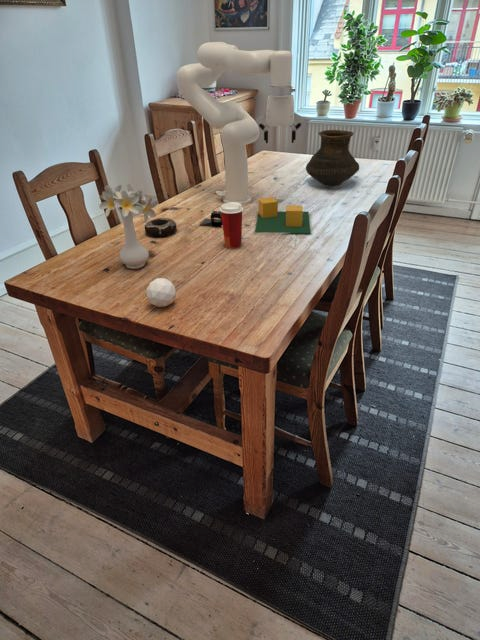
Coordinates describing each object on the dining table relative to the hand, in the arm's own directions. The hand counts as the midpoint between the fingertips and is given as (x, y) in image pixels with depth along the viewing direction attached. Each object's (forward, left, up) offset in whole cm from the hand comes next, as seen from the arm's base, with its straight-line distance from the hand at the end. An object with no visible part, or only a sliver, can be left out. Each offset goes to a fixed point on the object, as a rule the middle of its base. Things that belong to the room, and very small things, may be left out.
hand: (279, 142), depth 166 cm
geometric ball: (-30, -75, -26) cm, 85 cm away
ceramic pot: (+24, +37, -26) cm, 51 cm away
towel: (+2, -14, -26) cm, 30 cm away
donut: (-43, -24, -26) cm, 56 cm away
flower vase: (-44, -51, -26) cm, 72 cm away
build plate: (-23, -15, -26) cm, 38 cm away
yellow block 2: (+6, -16, -26) cm, 31 cm away
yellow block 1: (-4, -7, -26) cm, 27 cm away
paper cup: (-15, -35, -26) cm, 46 cm away
